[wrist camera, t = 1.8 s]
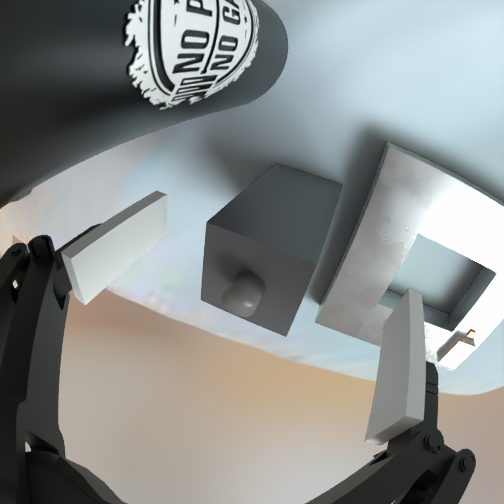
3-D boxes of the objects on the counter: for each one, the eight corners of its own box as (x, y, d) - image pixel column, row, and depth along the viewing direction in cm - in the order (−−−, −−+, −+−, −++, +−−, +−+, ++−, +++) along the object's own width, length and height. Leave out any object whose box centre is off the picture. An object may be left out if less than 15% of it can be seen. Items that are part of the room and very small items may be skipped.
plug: (263, 220, 21) (188, 315, 13) (276, 163, 18) (190, 236, 10) (322, 242, 20) (277, 355, 12) (342, 185, 17) (309, 284, 9)
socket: (319, 305, 23) (312, 328, 21) (386, 141, 14) (390, 149, 12) (451, 353, 20) (453, 376, 18) (542, 230, 11) (557, 249, 9)
